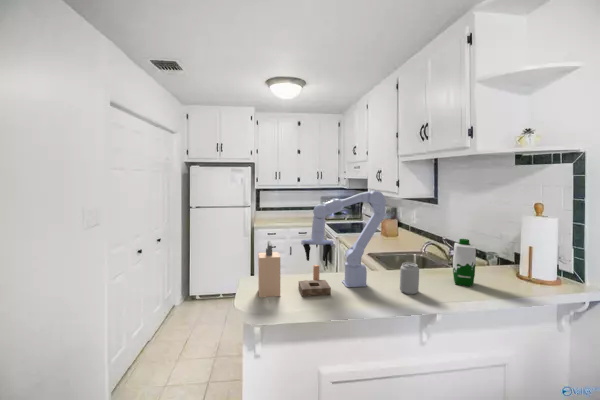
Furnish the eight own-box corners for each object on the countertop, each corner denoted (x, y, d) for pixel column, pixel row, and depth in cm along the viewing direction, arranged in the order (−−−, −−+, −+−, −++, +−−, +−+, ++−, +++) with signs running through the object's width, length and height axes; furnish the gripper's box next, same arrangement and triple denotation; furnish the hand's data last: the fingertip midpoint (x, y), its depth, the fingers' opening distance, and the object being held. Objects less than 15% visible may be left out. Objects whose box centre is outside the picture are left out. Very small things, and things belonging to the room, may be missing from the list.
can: (409, 296, 122) (410, 267, 121) (395, 290, 129) (396, 263, 128) (422, 293, 126) (423, 265, 125) (408, 287, 132) (409, 260, 132)
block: (325, 286, 133) (325, 279, 133) (330, 295, 123) (330, 288, 123) (298, 287, 131) (298, 281, 131) (302, 296, 121) (302, 289, 121)
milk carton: (472, 281, 140) (474, 239, 139) (475, 288, 132) (477, 243, 130) (451, 279, 144) (453, 237, 142) (453, 285, 135) (455, 241, 134)
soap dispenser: (258, 289, 129) (258, 239, 127) (278, 288, 130) (278, 238, 129) (259, 301, 116) (259, 246, 115) (281, 300, 118) (281, 245, 116)
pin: (318, 281, 139) (318, 264, 139) (319, 283, 136) (320, 266, 136) (312, 281, 139) (312, 265, 138) (313, 284, 136) (314, 266, 135)
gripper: (330, 229, 141) (328, 258, 142) (300, 228, 138) (298, 257, 139) (335, 232, 134) (333, 262, 135) (304, 231, 131) (301, 262, 132)
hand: (315, 260), depth 137 cm, fingers open, 7 cm apart
